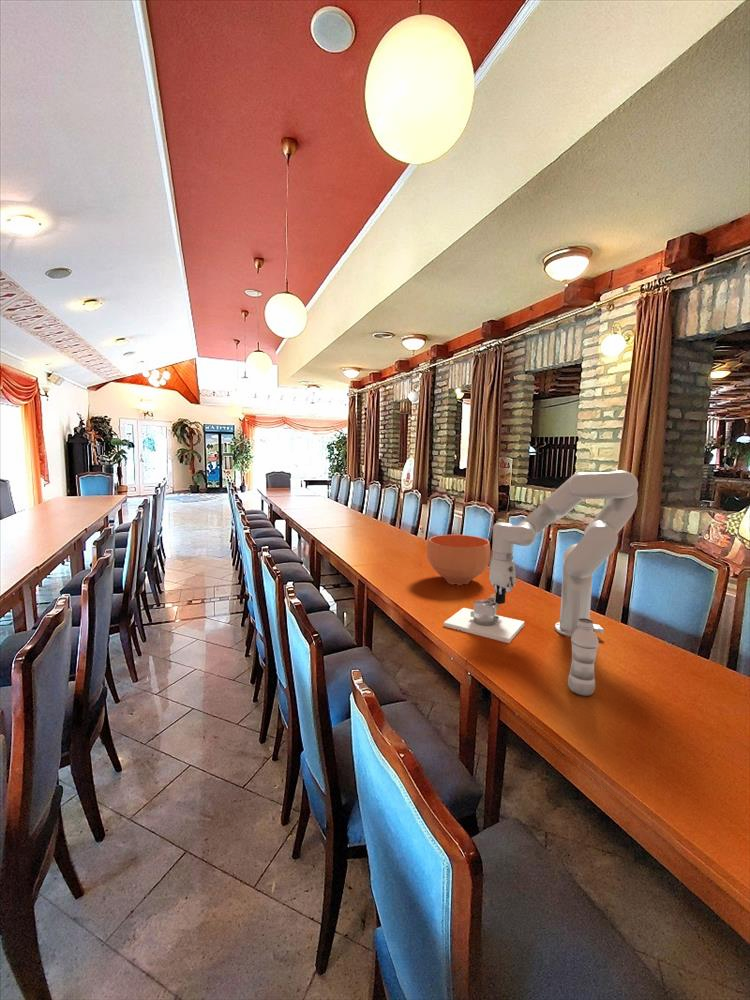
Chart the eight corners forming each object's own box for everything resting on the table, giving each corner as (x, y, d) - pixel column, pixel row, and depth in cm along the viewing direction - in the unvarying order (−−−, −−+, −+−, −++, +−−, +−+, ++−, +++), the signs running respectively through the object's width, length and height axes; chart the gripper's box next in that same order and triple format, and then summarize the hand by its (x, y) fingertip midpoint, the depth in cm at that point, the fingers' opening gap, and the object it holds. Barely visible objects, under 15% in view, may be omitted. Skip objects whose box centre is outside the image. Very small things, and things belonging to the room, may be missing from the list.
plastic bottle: (570, 682, 120) (575, 613, 118) (597, 691, 116) (602, 620, 114) (564, 692, 115) (568, 621, 113) (591, 702, 111) (596, 628, 109)
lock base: (524, 625, 159) (524, 621, 159) (509, 643, 144) (509, 638, 144) (463, 611, 173) (463, 607, 172) (443, 626, 158) (443, 621, 158)
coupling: (494, 628, 152) (495, 609, 151) (467, 621, 158) (467, 604, 157) (508, 612, 166) (508, 596, 166) (482, 607, 172) (483, 591, 171)
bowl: (423, 588, 200) (424, 545, 198) (430, 570, 229) (431, 533, 227) (489, 594, 193) (491, 549, 191) (488, 575, 222) (490, 536, 220)
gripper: (524, 559, 156) (521, 608, 158) (497, 550, 169) (495, 595, 171) (507, 561, 153) (505, 611, 155) (481, 552, 166) (479, 597, 168)
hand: (500, 602), depth 163 cm, fingers closed
